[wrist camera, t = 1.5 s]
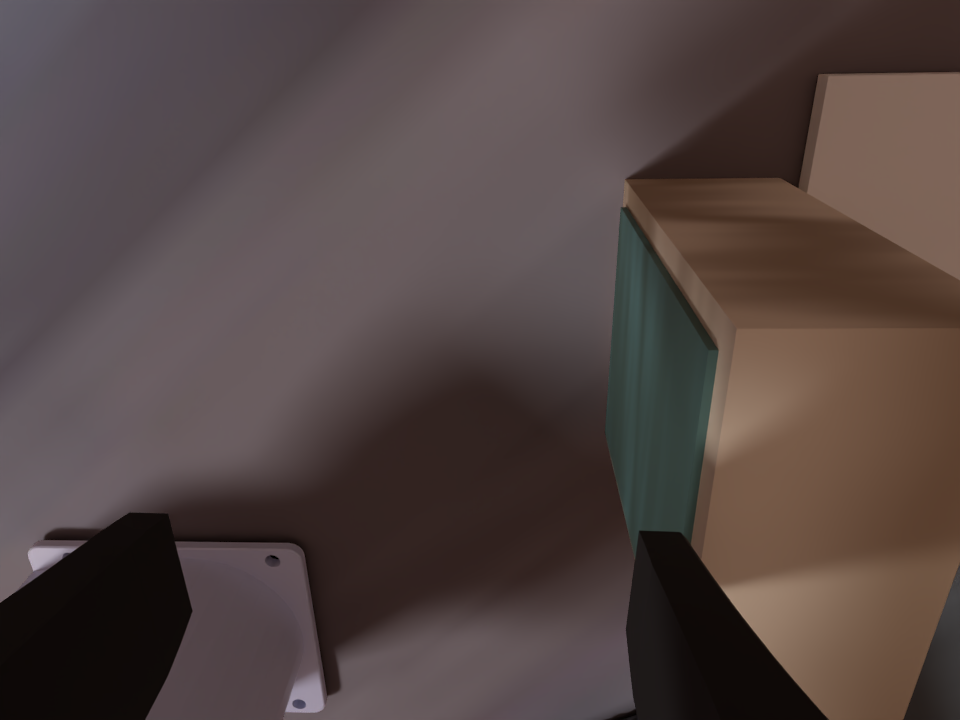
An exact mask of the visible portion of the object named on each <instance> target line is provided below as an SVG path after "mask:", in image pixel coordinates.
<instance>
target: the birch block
mask: <svg viewBox="0 0 960 720" xmlns="http://www.w3.org/2000/svg"><path fill="white" fill-rule="evenodd" d="M605 435H606V440H607V444H608V449H609V453H610V457H611V461H612V465H613V470H614V474H615V478H616V482H617V487H618V491H619V495H620V499H621V503H622V508H623V512H624V516H625V520H626V525H627V529H628V533H629V537H630V542H631V546H632V550H633V554H634V558H635V556H636V549H637V541H638V534H639V530H641V531H669V532H681V533H682V534H683V535H684V536H685V537H686V538H687V540H688V541H689V543H690V544H691V546H692V547H693V549H694V550H695V552H696V553H697V555H698V556H699V557H700V559H701V560H702V562H703V563H704V565H705V566H706V568H707V569H708V570H709V572H710V573H711V575H712V576H713V577H714V579H715V580H716V582H717V583H718V584H719V586H720V587H721V588H722V590H723V591H724V593H725V594H726V595H727V597H728V598H729V599H730V601H731V602H732V603H733V605H734V606H735V607H736V609H737V610H738V611H739V613H740V614H741V615H742V617H743V618H744V619H745V621H746V622H747V623H748V624H749V626H750V627H751V628H752V629H753V631H754V632H755V633H756V634H757V636H758V637H759V638H760V639H761V641H762V642H763V643H764V644H765V646H766V647H767V648H768V650H769V651H770V652H771V653H772V655H773V656H774V657H775V658H776V659H777V661H778V662H779V663H780V664H781V665H782V667H783V668H784V669H785V670H786V671H787V673H788V674H789V675H790V676H791V677H792V679H793V680H794V681H795V682H796V683H797V684H798V685H799V687H800V688H801V689H802V690H803V691H804V692H805V693H806V694H807V696H808V697H809V698H810V699H811V700H812V701H813V702H814V704H815V705H816V706H817V707H818V708H819V709H820V710H821V711H822V713H823V714H824V715H825V716H826V717H827V718H828V719H829V720H903V719H904V716H905V713H906V711H907V708H908V705H909V702H910V699H911V697H912V694H913V691H914V688H915V686H916V683H917V680H918V677H919V674H920V672H921V669H922V666H923V663H924V661H925V658H926V655H927V652H928V649H929V647H930V644H931V641H932V638H933V635H934V633H935V630H936V627H937V624H938V622H939V619H940V616H941V613H942V610H943V608H944V605H945V602H946V599H947V597H948V594H949V591H950V588H951V585H952V583H953V580H954V577H955V574H956V572H957V569H958V566H959V563H960V280H958V279H957V278H955V277H953V276H951V275H950V274H948V273H946V272H944V271H943V270H941V269H939V268H937V267H936V266H934V265H932V264H930V263H929V262H927V261H925V260H923V259H921V258H920V257H918V256H916V255H914V254H913V253H911V252H909V251H907V250H906V249H904V248H902V247H900V246H899V245H897V244H895V243H893V242H892V241H890V240H888V239H886V238H885V237H883V236H881V235H879V234H878V233H876V232H874V231H872V230H871V229H869V228H867V227H865V226H864V225H862V224H860V223H858V222H857V221H855V220H853V219H851V218H850V217H848V216H846V215H844V214H842V213H841V212H839V211H837V210H835V209H834V208H832V207H830V206H828V205H827V204H825V203H823V202H821V201H820V200H818V199H816V198H814V197H813V196H811V195H809V194H807V193H806V192H804V191H802V190H800V189H799V188H797V187H795V186H793V185H792V184H790V183H788V182H786V181H785V180H783V179H781V178H703V179H625V185H624V199H623V207H621V212H620V226H619V241H618V255H617V269H616V283H615V297H614V311H613V326H612V340H611V354H610V368H609V382H608V396H607V411H606V425H605Z"/></svg>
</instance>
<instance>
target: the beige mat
mask: <svg viewBox="0 0 960 720" xmlns="http://www.w3.org/2000/svg"><path fill="white" fill-rule="evenodd" d="M798 188H799V189H800V190H802V191H804V192H806V193H807V194H809V195H811V196H813V197H814V198H816V199H818V200H820V201H821V202H823V203H825V204H827V205H828V206H830V207H832V208H834V209H835V210H837V211H839V212H841V213H842V214H844V215H846V216H848V217H850V218H851V219H853V220H855V221H857V222H858V223H860V224H862V225H864V226H865V227H867V228H869V229H871V230H872V231H874V232H876V233H878V234H879V235H881V236H883V237H885V238H886V239H888V240H890V241H892V242H893V243H895V244H897V245H899V246H900V247H902V248H904V249H906V250H907V251H909V252H911V253H913V254H914V255H916V256H918V257H920V258H921V259H923V260H925V261H927V262H929V263H930V264H932V265H934V266H936V267H937V268H939V269H941V270H943V271H944V272H946V273H948V274H950V275H951V276H953V277H955V278H957V279H958V280H960V72H922V73H856V74H819V75H818V80H817V86H816V91H815V97H814V103H813V108H812V114H811V119H810V125H809V131H808V136H807V142H806V147H805V153H804V159H803V164H802V170H801V175H800V181H799V187H798Z"/></svg>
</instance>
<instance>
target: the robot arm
mask: <svg viewBox="0 0 960 720" xmlns="http://www.w3.org/2000/svg"><path fill="white" fill-rule="evenodd" d="M270 555H273V556H276V557H278V558H279V559H273V558H272V557H270ZM28 558H29V560H30V563H31V566H32V568H33V571H34V572H32V574H31V575H30V576H29V577H28V578H27V579H26V581H25V582H24V583H23V584H22V585H21V586H20V587H19V589H18V590H17V591H16V592H15V593H14V594H12V595H11V596H9V597H8V598H6V599H5V600H4V601H2V602H1V603H0V720H283V717H284V714H285V712H310V713H314V712H319V711H321V710H323V709H324V708H325V705H326V701H327V692H326V686H325V679H324V673H323V667H322V661H321V654H320V648H319V642H318V636H317V629H316V623H315V617H314V611H313V604H312V598H311V592H310V585H309V579H308V573H307V567H306V560H305V554H304V552H303V550H302V549H301V548H300V547H299V546H297V545H295V544H292V543H256V542H175V540H174V536H173V532H172V528H171V524H170V520H169V516H168V514H156V513H128V514H127V515H125V516H124V517H122V518H120V519H119V520H117V521H116V522H114V523H113V524H111V525H110V526H108V527H107V528H105V529H104V530H103V531H101V532H100V533H98V534H97V535H95V536H94V537H93V538H91V539H90V540H88V541H80V540H41V541H38V542H36V543H35V544H34V545H33V546H32V547H31V548H30V549H29V551H28ZM626 634H627V644H628V654H629V664H630V673H631V682H632V690H633V698H634V703H635V707H636V712H637V717H638V720H829V719H828V718H827V717H826V716H825V715H824V714H823V713H822V711H821V710H820V709H819V708H818V707H817V706H816V705H815V704H814V702H813V701H812V700H811V699H810V698H809V697H808V696H807V694H806V693H805V692H804V691H803V690H802V689H801V688H800V687H799V685H798V684H797V683H796V682H795V681H794V680H793V679H792V677H791V676H790V675H789V674H788V673H787V671H786V670H785V669H784V668H783V667H782V665H781V664H780V663H779V662H778V661H777V659H776V658H775V657H774V656H773V655H772V653H771V652H770V651H769V650H768V648H767V647H766V646H765V644H764V643H763V642H762V641H761V639H760V638H759V637H758V636H757V634H756V633H755V632H754V631H753V629H752V628H751V627H750V626H749V624H748V623H747V622H746V621H745V619H744V618H743V617H742V615H741V614H740V613H739V611H738V610H737V609H736V607H735V606H734V605H733V603H732V602H731V601H730V599H729V598H728V597H727V595H726V594H725V593H724V591H723V590H722V588H721V587H720V586H719V584H718V583H717V582H716V580H715V579H714V577H713V576H712V575H711V573H710V572H709V570H708V569H707V568H706V566H705V565H704V563H703V562H702V560H701V559H700V557H699V556H698V555H697V553H696V552H695V550H694V549H693V547H692V546H691V544H690V543H689V541H688V540H687V538H686V537H685V536H684V535H683V534H682V533H681V532H669V531H641V530H639V534H638V541H637V549H636V556H635V564H634V572H633V579H632V587H631V595H630V602H629V610H628V617H627V625H626Z"/></svg>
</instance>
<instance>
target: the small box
mask: <svg viewBox="0 0 960 720" xmlns="http://www.w3.org/2000/svg"><path fill="white" fill-rule="evenodd" d="M621 720H638V717H637V714H636V715H634V716H631V717H628V718H625V719H621Z"/></svg>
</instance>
